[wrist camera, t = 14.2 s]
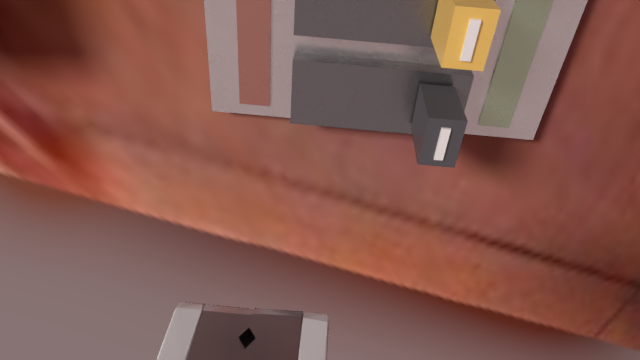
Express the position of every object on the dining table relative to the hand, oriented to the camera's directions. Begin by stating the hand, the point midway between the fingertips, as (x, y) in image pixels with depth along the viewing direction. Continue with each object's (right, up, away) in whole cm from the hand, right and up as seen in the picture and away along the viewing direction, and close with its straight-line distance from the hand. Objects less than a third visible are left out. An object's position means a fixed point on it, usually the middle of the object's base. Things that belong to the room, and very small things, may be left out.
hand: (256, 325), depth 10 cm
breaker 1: (+10, +14, +22) cm, 28 cm away
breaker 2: (+10, +8, +26) cm, 29 cm away
